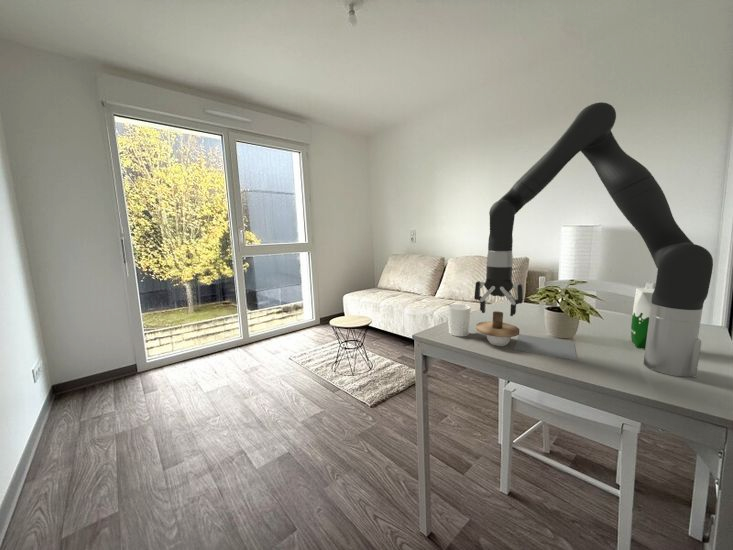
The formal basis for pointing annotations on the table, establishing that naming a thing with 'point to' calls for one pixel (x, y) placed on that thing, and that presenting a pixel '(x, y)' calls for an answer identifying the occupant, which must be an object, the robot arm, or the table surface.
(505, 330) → the lid
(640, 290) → the milk carton
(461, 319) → the white cup
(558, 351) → the mat
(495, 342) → the white bowl
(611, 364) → the table surface
